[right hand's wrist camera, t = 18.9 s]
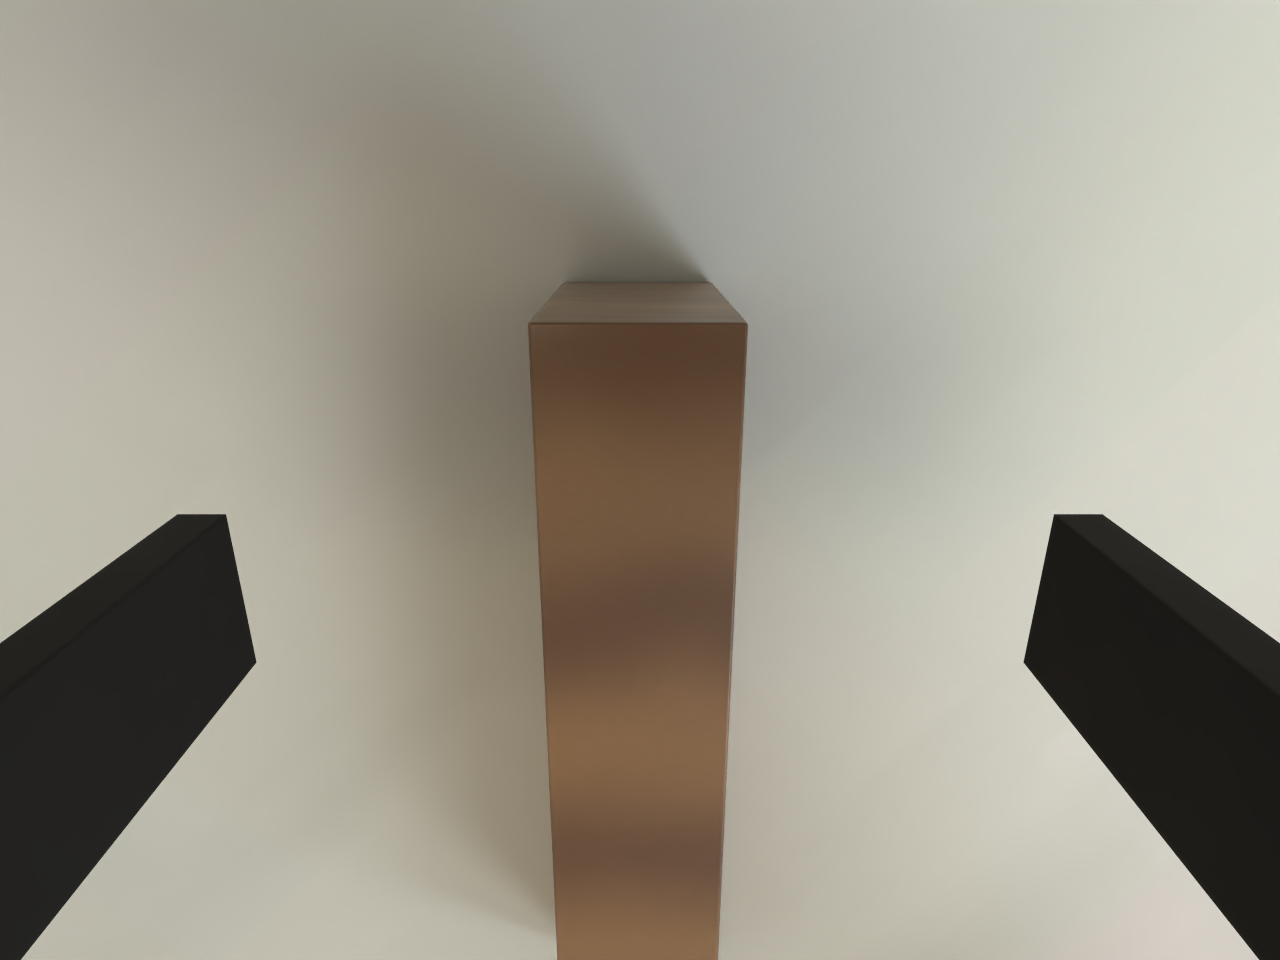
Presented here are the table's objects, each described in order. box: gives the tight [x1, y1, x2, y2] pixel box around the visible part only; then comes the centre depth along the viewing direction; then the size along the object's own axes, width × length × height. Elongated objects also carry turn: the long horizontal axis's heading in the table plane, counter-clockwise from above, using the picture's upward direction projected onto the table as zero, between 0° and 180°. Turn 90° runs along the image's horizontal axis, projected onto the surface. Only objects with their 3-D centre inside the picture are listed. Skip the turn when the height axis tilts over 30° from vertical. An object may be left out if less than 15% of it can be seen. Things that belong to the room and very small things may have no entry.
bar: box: [528, 282, 748, 960], centre depth 24 cm, size 27×4×8 cm, turn 0°
